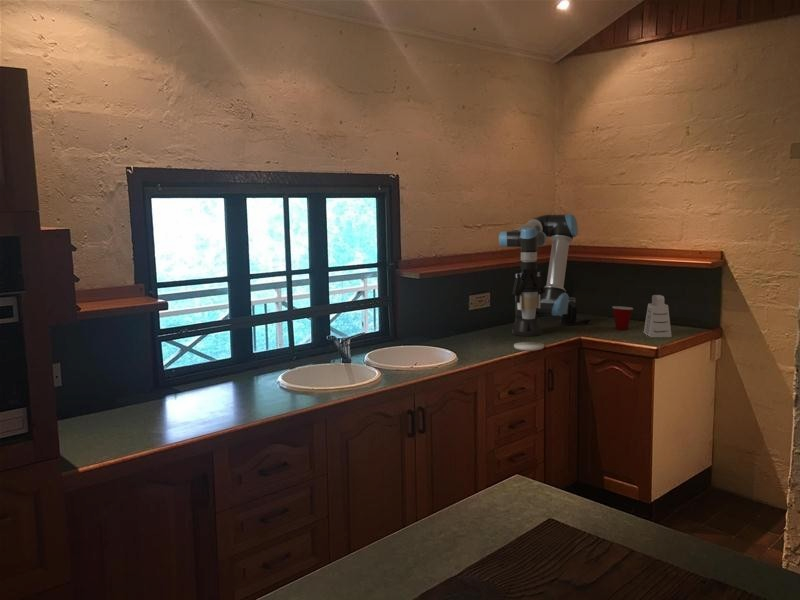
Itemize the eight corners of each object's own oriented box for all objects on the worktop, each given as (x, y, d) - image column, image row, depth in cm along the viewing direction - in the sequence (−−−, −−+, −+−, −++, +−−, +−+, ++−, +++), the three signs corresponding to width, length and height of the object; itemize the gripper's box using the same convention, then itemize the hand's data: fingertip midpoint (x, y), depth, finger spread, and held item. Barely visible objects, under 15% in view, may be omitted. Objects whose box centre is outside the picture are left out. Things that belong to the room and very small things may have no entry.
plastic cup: (637, 329, 363) (637, 307, 361) (620, 331, 359) (621, 308, 357) (623, 326, 373) (623, 304, 371) (607, 328, 369) (607, 306, 367)
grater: (650, 337, 342) (651, 297, 339) (643, 333, 352) (644, 294, 350) (671, 336, 342) (672, 296, 339) (664, 332, 352) (665, 294, 349)
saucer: (508, 348, 325) (508, 345, 324) (523, 343, 335) (523, 340, 335) (534, 351, 316) (534, 349, 315) (549, 346, 326) (549, 343, 326)
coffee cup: (524, 316, 330) (524, 285, 328) (542, 317, 324) (542, 286, 322) (514, 318, 323) (514, 287, 321) (532, 320, 317) (532, 288, 315)
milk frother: (555, 323, 387) (555, 297, 385) (577, 320, 394) (577, 295, 392) (572, 327, 375) (573, 300, 373) (594, 324, 382) (595, 298, 380)
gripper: (512, 262, 312) (512, 311, 315) (553, 260, 321) (553, 307, 324) (504, 261, 319) (504, 309, 322) (544, 259, 327) (544, 305, 330)
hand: (528, 308), depth 323 cm, fingers closed on coffee cup, 9 cm apart
